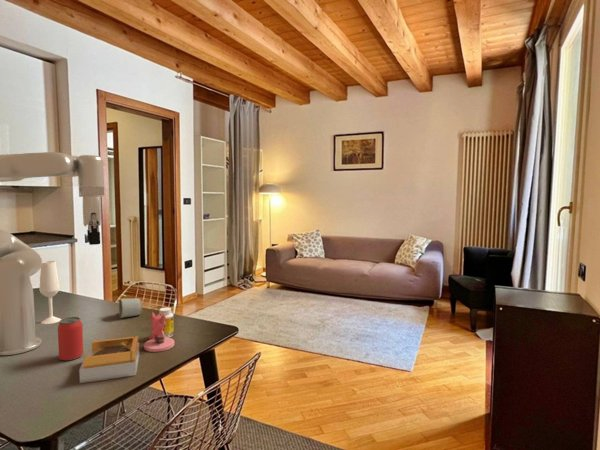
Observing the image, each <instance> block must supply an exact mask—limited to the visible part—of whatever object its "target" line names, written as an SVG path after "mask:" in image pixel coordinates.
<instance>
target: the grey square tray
mask: <svg viewBox="0 0 600 450" xmlns="http://www.w3.org/2000/svg"><path fill="white" fill-rule="evenodd" d="M139 358H140V342H139V335H136V336H126V337H117V338H110V339H109V338H108V339H100V340H99V339H98V340H92V341H91V347H90V348H89V349H88V351H87V352H86V355H85V356H84V357H83V360H82V363H81V365H80V367H79V369H78V370H79V372H78V373H79V384H87V383H92V382H93V383H94V382H98V381H99V382H100V381H107V380H113V379H120V378H127V377H133V376H137V372H138V365H139Z"/></svg>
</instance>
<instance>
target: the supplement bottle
mask: <svg viewBox="0 0 600 450" xmlns="http://www.w3.org/2000/svg"><path fill="white" fill-rule="evenodd" d="M163 313H164V315H165V316H166V319H165V322H166V323H165V329H164V331H163V328H162V331H163V332H164V336H166V337H168V338H172V337H173V336H174V332H175V331H174V330H175V328H174V326H175V325H174V313H173V312H172V308H171V307H161V308H160V309H159V313H158V314H157V315H156V316H159V314H160V315H161V314H162V315H161V316H163Z"/></svg>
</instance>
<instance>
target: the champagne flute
mask: <svg viewBox="0 0 600 450" xmlns="http://www.w3.org/2000/svg"><path fill="white" fill-rule="evenodd" d="M39 273H40V275H39V292H40V294H41V295H43V296H44V297H46V298H48V317H46V318H45V319H43V320H42V321H41V322H40V324H42V325H50V324H56V323H59V321H60V320H62V318H59V317H57V316H54V313H53V310H54V309H53V297H54V296H56V295H57V294H58V292H59V291H60V289H61V287H60V286H61V285H60V280H59V274H58V267H57V262H56V260H47V261H46V260H45V261H42V266H41V268H40V272H39Z"/></svg>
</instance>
